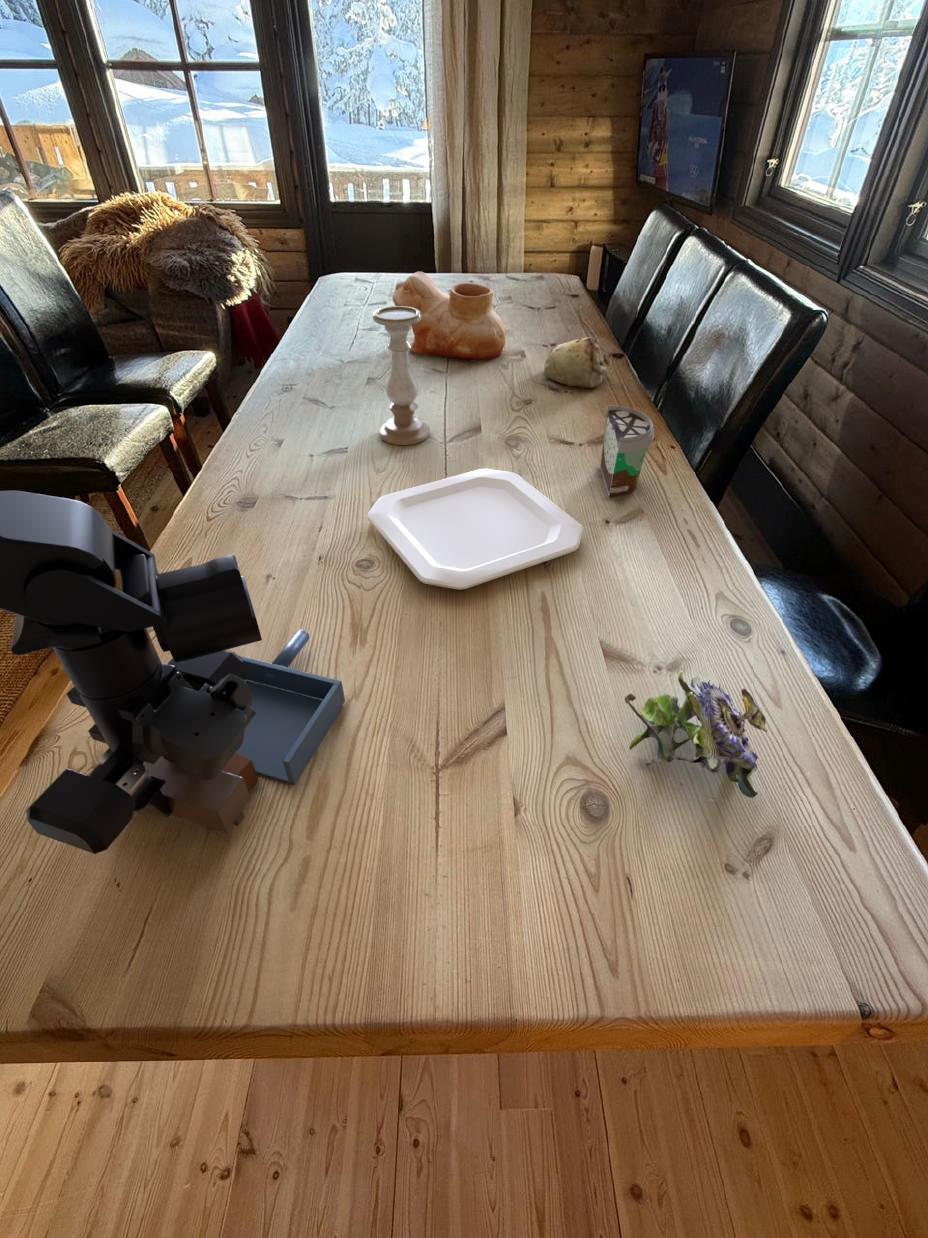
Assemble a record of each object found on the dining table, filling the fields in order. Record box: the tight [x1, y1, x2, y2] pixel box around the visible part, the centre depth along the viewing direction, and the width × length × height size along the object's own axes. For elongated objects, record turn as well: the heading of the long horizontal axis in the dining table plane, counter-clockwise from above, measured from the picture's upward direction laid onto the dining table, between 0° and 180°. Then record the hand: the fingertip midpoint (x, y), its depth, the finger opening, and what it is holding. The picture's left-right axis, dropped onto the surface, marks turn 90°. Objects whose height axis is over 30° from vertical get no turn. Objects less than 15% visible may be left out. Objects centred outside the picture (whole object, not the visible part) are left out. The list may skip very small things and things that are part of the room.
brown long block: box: [145, 756, 251, 834], centre depth 57 cm, size 12×4×4 cm, turn 71°
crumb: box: [222, 752, 259, 791], centre depth 60 cm, size 3×3×3 cm
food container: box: [599, 404, 655, 498], centre depth 100 cm, size 12×6×10 cm, turn 179°
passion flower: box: [624, 670, 768, 799], centre depth 60 cm, size 11×11×12 cm
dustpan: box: [236, 629, 346, 786], centre depth 68 cm, size 17×16×3 cm
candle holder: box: [372, 305, 431, 446], centre depth 109 cm, size 9×9×20 cm
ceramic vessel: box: [391, 271, 507, 363], centre depth 144 cm, size 14×26×15 cm, turn 67°
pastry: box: [543, 336, 607, 389], centre depth 134 cm, size 14×12×8 cm
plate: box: [366, 468, 584, 590], centre depth 91 cm, size 25×25×2 cm
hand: (179, 796), depth 58 cm, fingers closed on brown long block, 3 cm apart
